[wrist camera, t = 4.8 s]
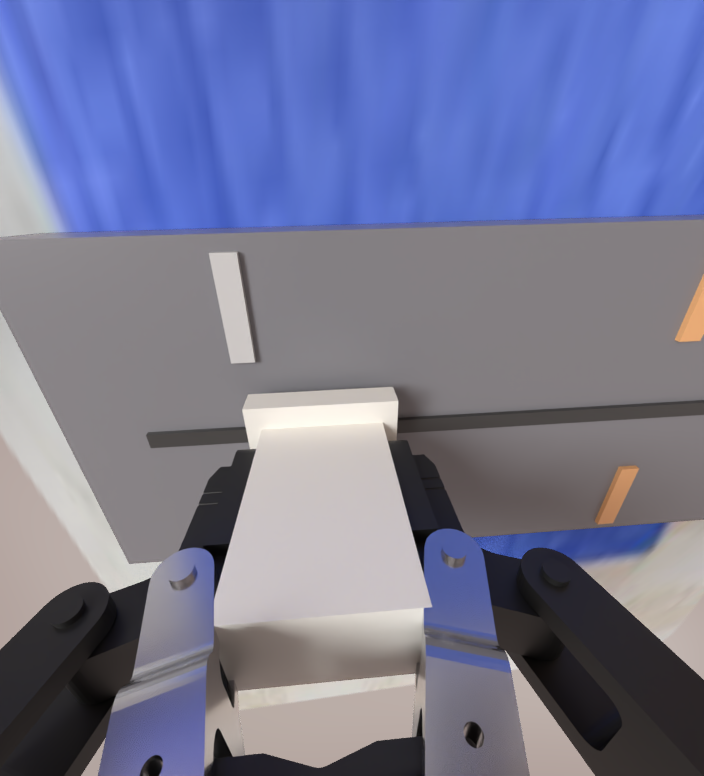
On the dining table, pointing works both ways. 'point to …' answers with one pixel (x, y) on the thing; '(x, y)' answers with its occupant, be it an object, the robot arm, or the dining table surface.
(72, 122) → the dining table surface
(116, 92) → the dining table surface
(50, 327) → the fader console
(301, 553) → the fader tab
